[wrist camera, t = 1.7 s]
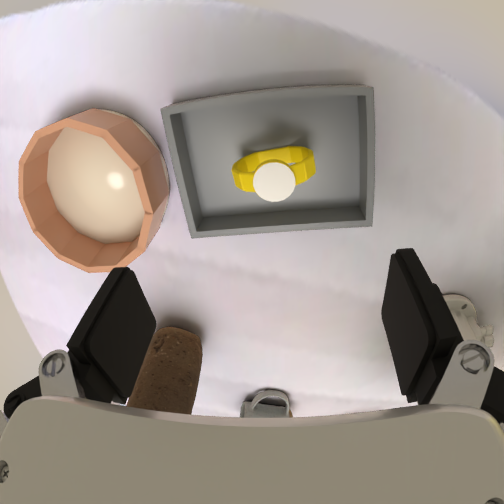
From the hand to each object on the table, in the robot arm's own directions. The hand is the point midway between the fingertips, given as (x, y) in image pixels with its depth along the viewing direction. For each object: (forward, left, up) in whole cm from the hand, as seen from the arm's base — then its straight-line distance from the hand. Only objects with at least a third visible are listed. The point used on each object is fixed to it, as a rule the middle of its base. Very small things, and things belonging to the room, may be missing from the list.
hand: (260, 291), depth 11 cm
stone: (+15, +23, -17) cm, 32 cm away
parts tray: (0, 0, -16) cm, 16 cm away
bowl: (+16, 0, -16) cm, 23 cm away
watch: (0, 0, -16) cm, 16 cm away
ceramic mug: (+5, +40, -17) cm, 43 cm away
